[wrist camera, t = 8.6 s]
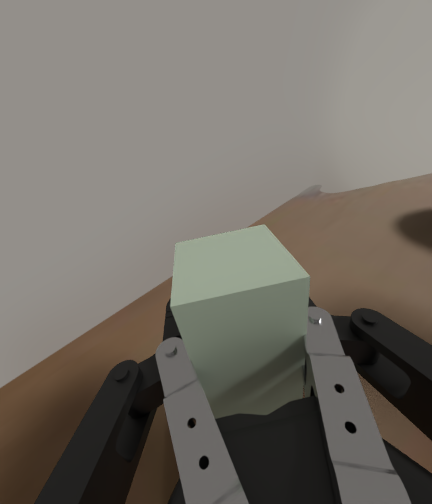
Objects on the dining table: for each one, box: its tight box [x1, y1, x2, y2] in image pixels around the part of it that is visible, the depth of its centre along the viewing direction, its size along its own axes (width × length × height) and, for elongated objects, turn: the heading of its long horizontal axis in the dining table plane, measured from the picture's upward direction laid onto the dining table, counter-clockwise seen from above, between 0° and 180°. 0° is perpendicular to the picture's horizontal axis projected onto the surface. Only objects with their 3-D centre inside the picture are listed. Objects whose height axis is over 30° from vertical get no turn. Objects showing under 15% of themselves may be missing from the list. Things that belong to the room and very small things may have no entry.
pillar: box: [170, 224, 310, 419], centre depth 11 cm, size 4×4×10 cm
